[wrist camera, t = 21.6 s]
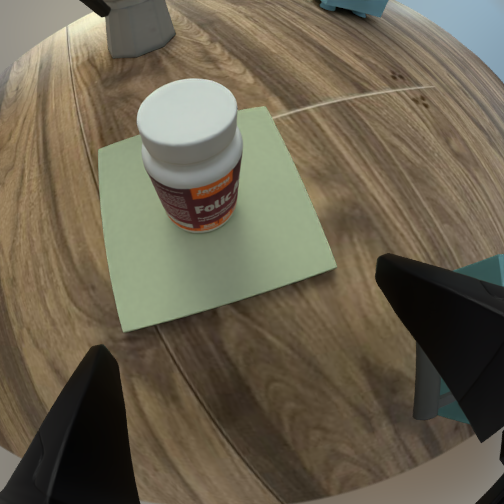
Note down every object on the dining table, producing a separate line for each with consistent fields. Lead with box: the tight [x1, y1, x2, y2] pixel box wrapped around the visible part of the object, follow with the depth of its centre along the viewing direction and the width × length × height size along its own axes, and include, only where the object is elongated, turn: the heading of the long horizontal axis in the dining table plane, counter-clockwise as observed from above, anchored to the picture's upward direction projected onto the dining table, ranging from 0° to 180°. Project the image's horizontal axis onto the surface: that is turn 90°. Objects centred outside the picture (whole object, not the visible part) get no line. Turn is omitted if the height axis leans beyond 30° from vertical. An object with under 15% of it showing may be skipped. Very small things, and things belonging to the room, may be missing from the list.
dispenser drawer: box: [413, 254, 504, 424], centre depth 13 cm, size 19×11×7 cm, turn 91°
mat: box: [98, 106, 337, 333], centre depth 18 cm, size 14×14×1 cm
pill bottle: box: [137, 79, 243, 233], centre depth 13 cm, size 5×5×8 cm
